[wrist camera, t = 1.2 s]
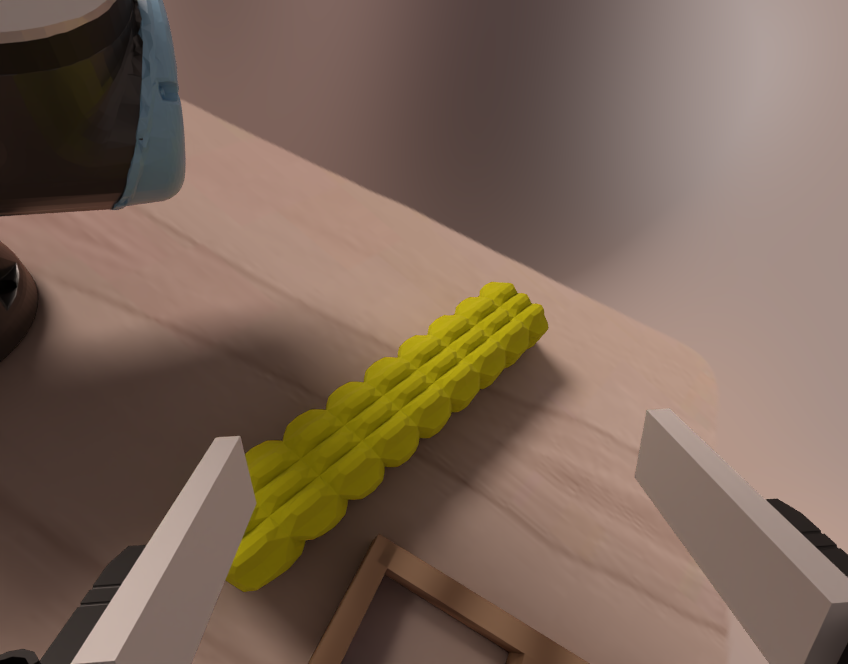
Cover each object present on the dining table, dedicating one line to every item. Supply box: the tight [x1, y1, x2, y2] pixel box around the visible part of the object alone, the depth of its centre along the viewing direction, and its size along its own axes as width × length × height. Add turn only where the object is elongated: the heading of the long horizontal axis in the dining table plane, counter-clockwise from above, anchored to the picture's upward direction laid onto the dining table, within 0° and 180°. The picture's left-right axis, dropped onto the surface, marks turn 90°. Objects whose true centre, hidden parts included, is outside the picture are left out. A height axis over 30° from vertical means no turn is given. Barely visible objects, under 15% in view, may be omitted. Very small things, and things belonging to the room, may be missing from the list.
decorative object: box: [226, 282, 548, 592], centre depth 34 cm, size 7×33×7 cm, turn 135°
